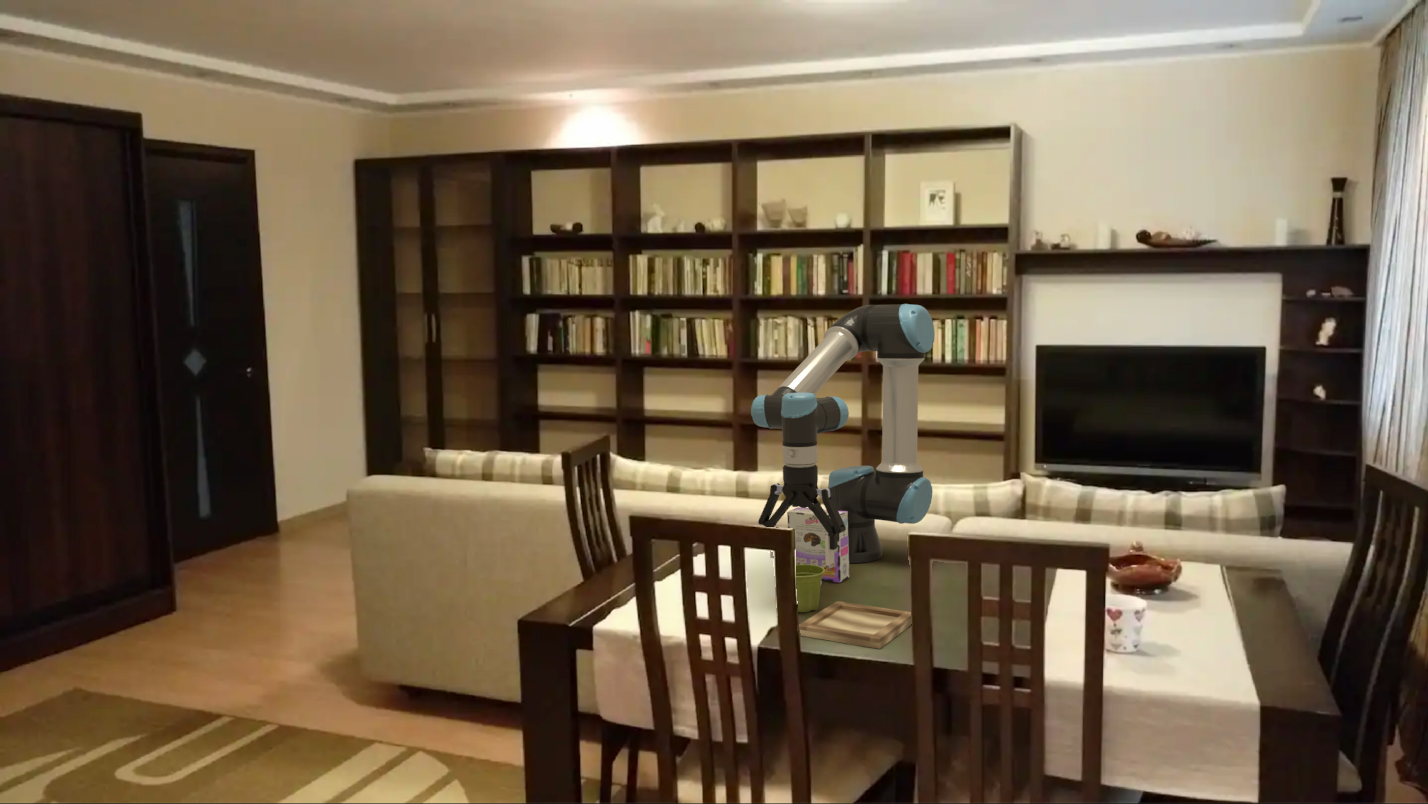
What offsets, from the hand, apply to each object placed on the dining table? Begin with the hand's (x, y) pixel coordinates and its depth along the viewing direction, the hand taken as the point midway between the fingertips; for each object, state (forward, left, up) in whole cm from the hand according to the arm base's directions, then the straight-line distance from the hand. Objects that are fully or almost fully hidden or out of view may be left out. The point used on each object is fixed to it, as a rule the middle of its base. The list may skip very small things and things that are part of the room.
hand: (801, 560), depth 231 cm
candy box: (-23, -8, -11) cm, 27 cm away
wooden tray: (+7, +16, -11) cm, 21 cm away
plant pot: (0, 0, -11) cm, 11 cm away
